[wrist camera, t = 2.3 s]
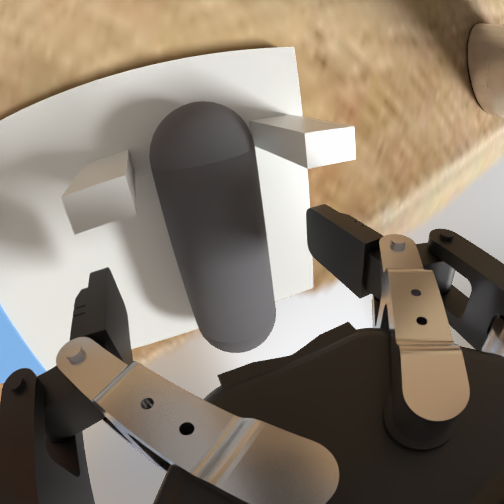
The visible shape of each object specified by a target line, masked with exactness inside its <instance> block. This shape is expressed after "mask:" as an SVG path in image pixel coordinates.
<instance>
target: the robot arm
mask: <svg viewBox="0 0 504 504" xmlns="http://www.w3.org/2000/svg"><path fill="white" fill-rule="evenodd" d="M468 65H469V73H470V78H471V83H472V87H473V90H474V93H475V96H476V98H477V101H478V102H479V104H480V106H481V107H482V108H483V110H484V111H485V112H487V113H489V114H492V115H496V116H499V117H503V118H504V25H501V24H487V23H479V24H476V25H475V26H474V27H473V28H472V31H471V33H470V37H469V42H468ZM306 227H307V245H308V249H309V251H310V253H311V255H312V256H313V257H314V258H315V259H316V260H317V261H318V262H320V263H321V264H322V265H323V266H324V267H325V268H326V269H327V270H329V271H330V272H331V273H332V274H333V275H334V276H335V277H336V278H338V279H339V280H340V281H341V282H342V283H343V284H344V285H345V286H346V287H348V288H349V289H350V290H351V291H352V292H353V293H354V294H355V295H356V296H358V297H359V298H362V297H365V296H367V295H369V294H373V299H372V316H373V328H364V329H357V330H356V329H355V328H354V327H353V326H352V325H351V324H350V323H349V322H347V323H345V324H343V325H341V326H338V327H336V328H334V329H332V330H330V331H328V332H325V333H323V334H321V335H319V336H318V337H316V338H315V339H314V340H312V341H311V342H310V343H308V344H307V345H306V346H304V347H303V348H301V349H300V350H299V351H297V352H296V353H294V354H293V355H290V356H286V357H281V358H275V359H270V360H265V361H258V362H253V363H250V364H248V365H245V366H242V367H239V368H237V369H234V370H231V371H228V372H225V373H222V374H220V375H218V378H219V381H220V383H221V386H220V387H218V388H216V389H215V390H214V391H212V392H211V393H210V394H209V395H207V396H206V397H205V398H204V399H201V398H199V397H197V396H195V395H193V394H192V393H190V392H188V391H186V390H184V389H182V388H181V387H179V386H177V385H175V384H174V383H172V382H170V381H168V380H166V379H165V378H163V377H161V376H160V375H158V374H156V373H155V372H153V371H151V370H150V369H148V368H147V367H145V366H143V365H142V364H140V363H138V362H136V361H133V359H132V351H131V343H130V333H129V323H128V314H127V310H126V307H125V304H124V301H123V299H122V296H121V294H120V292H119V289H118V287H117V285H116V282H115V280H114V277H113V275H112V273H111V270H110V269H109V267H107V268H103V269H100V270H97V271H94V272H91V273H90V275H89V283H88V287H87V288H84V289H81V291H80V292H79V294H78V295H77V297H76V298H75V303H74V310H73V318H72V324H71V333H70V341H69V342H67V343H66V344H65V345H64V346H63V347H62V348H61V349H60V350H59V352H58V354H57V357H56V366H55V367H53V368H52V369H50V370H48V371H46V372H45V373H43V374H41V375H39V376H38V377H37V376H36V374H35V373H34V372H33V371H32V370H31V369H29V368H21V369H18V370H16V371H14V372H13V373H12V374H11V375H10V376H9V377H8V378H7V379H6V381H5V383H4V385H3V388H2V395H1V402H0V504H95V502H94V498H93V493H92V489H91V484H90V479H89V474H88V468H87V462H86V456H85V450H84V442H83V435H82V431H83V430H84V429H86V428H88V427H90V426H91V425H93V424H95V423H97V422H98V421H100V420H102V421H103V422H104V423H106V424H107V425H108V426H109V427H110V428H111V429H113V430H114V431H115V432H116V433H117V434H118V435H119V436H121V437H122V438H123V439H124V440H125V441H127V442H128V443H129V444H130V445H132V446H133V447H134V448H135V449H137V450H138V451H139V452H140V453H141V454H143V455H144V456H145V457H146V458H147V459H149V460H150V461H151V462H152V463H154V464H155V465H156V466H158V467H159V468H160V469H162V470H163V471H165V472H166V475H165V478H164V480H163V482H162V484H161V487H160V489H159V491H158V494H157V496H156V498H155V500H154V503H153V504H504V264H503V263H501V262H500V261H498V260H497V259H495V258H494V257H492V256H491V255H489V254H488V253H486V252H485V251H483V250H482V249H480V248H479V247H477V246H476V245H474V244H473V243H471V242H469V241H468V240H466V239H465V238H463V237H462V236H460V235H458V234H457V233H455V232H453V231H450V230H446V229H435V230H432V231H431V232H430V235H429V241H428V243H422V244H415V243H414V241H413V240H412V239H410V238H408V237H406V236H403V235H397V234H391V235H386V236H382V235H381V234H379V233H378V232H376V231H374V230H373V229H371V228H370V227H368V226H366V225H364V224H363V223H361V222H360V221H358V220H356V219H355V218H353V217H351V216H350V215H346V214H343V213H339V212H338V211H336V210H334V209H332V208H331V207H329V206H327V205H325V204H323V205H319V206H316V207H312V208H309V209H307V211H306ZM455 270H456V271H457V272H459V273H460V274H462V275H463V276H464V277H465V278H467V279H468V280H469V281H470V283H471V286H472V292H471V295H470V298H468V297H467V296H465V295H464V294H463V293H462V292H460V291H459V290H458V289H457V288H455V287H454V286H453V285H452V281H453V277H454V273H455ZM449 325H450V326H451V327H452V328H453V329H455V330H456V331H457V332H458V333H459V334H460V335H461V336H462V337H463V338H464V339H465V340H466V341H467V342H468V343H470V345H472V346H473V347H474V348H475V349H476V350H474V349H470V348H465V347H461V346H459V345H457V344H455V343H454V342H453V338H452V334H451V330H450V327H449Z"/></svg>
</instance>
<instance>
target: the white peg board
mask: <svg viewBox="0 0 504 504" xmlns="http://www.w3.org/2000/svg"><path fill="white" fill-rule="evenodd" d="M201 101H206V102H215V103H218V104H221V105H224V106H226V107H228V108H230V109H232V110H233V111H235V112H236V113H237V114H238V115H239V116H240V117H241V118H242V119H243V120H244V122H245V123H246V124H247V126H248V128H249V130H250V132H251V134H252V137H253V141H254V145H255V152H256V159H257V166H258V174H259V181H260V189H261V196H262V204H263V211H264V219H265V227H266V234H267V242H268V250H269V258H270V266H271V274H272V283H273V291H274V299H275V302H276V301H279V300H282V299H284V298H287V297H290V296H292V295H295V294H298V293H300V292H303V291H306V290H308V289H311V288H313V262H312V255H311V253H310V251H309V249H308V245H307V227H306V211H307V209H309V208H310V200H309V185H308V171H307V169H310V168H314V167H319V166H324V165H329V164H334V163H339V162H344V161H349V160H354V159H356V154H355V130H354V126H350V125H345V124H340V123H335V122H330V121H325V120H319V119H313V118H308V117H303V115H302V106H301V97H300V88H299V80H298V72H297V64H296V57H295V49H294V47H276V48H260V49H247V50H237V51H228V52H220V53H213V54H206V55H199V56H193V57H187V58H182V59H177V60H172V61H167V62H162V63H157V64H153V65H149V66H145V67H141V68H137V69H133V70H129V71H125V72H122V73H118V74H115V75H111V76H108V77H105V78H102V79H98V80H95V81H92V82H89V83H86V84H83V85H81V86H78V87H75V88H72V89H70V90H67V91H64V92H62V93H59V94H57V95H54V96H52V97H49V98H47V99H44V100H42V101H40V102H37V103H35V104H33V105H31V106H28V107H26V108H24V109H22V110H20V111H18V112H16V113H14V114H12V115H10V116H8V117H6V118H4V119H2V120H0V383H5V381H6V379H7V378H8V377H9V376H10V375H11V374H12V373H13V372H14V371H16V370H18V369H21V368H29V369H31V370H32V371H33V372H34V373H35V374H36V375H40V374H43V373H45V372H46V371H48V370H50V369H52V368H53V367H55V366H56V357H57V354H58V352H59V350H60V349H61V348H62V347H63V346H64V345H65V344H66V343H67V342H69V341H70V333H71V324H72V318H73V310H74V303H75V298H76V297H77V295H78V294H79V292H80V291H81V289H84V288H87V287H88V283H89V275H90V273H91V272H94V271H97V270H100V269H103V268H107V267H109V269H110V270H111V273H112V275H113V277H114V280H115V282H116V285H117V287H118V289H119V292H120V294H121V296H122V299H123V301H124V304H125V307H126V310H127V314H128V323H129V333H130V343H131V349H134V348H137V347H140V346H144V345H147V344H150V343H154V342H157V341H160V340H163V339H167V338H170V337H173V336H176V335H179V334H183V333H186V332H189V331H192V330H195V329H198V326H197V323H196V320H195V317H194V314H193V311H192V308H191V305H190V302H189V299H188V296H187V293H186V290H185V287H184V284H183V280H182V277H181V274H180V271H179V268H178V264H177V261H176V258H175V254H174V251H173V248H172V244H171V241H170V237H169V234H168V231H167V227H166V223H165V220H164V216H163V213H162V209H161V205H160V201H159V198H158V194H157V190H156V186H155V182H154V178H153V174H152V170H151V166H150V159H149V153H150V144H151V141H152V137H153V134H154V132H155V130H156V129H157V127H158V125H159V124H160V123H161V121H162V120H163V119H164V118H165V117H166V116H167V115H168V114H169V113H171V112H172V111H173V110H175V109H177V108H179V107H181V106H182V105H186V104H189V103H192V102H201Z"/></svg>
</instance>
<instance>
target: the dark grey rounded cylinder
mask: <svg viewBox="0 0 504 504" xmlns="http://www.w3.org/2000/svg"><path fill="white" fill-rule="evenodd" d="M149 159H150V166H151V170H152V174H153V178H154V182H155V186H156V190H157V194H158V198H159V201H160V205H161V209H162V213H163V216H164V220H165V223H166V227H167V231H168V234H169V237H170V241H171V244H172V248H173V251H174V254H175V258H176V261H177V264H178V268H179V271H180V274H181V277H182V280H183V284H184V287H185V290H186V293H187V296H188V299H189V302H190V305H191V308H192V311H193V314H194V317H195V320H196V323H197V326H198V328H199V330H200V332H201V333H202V335H203V337H204V338H205V339H206V340H207V341H208V342H209V343H210V344H211V345H213V346H215V347H216V348H218V349H220V350H222V351H226V352H231V353H240V352H245V351H249V350H251V349H254V348H256V347H257V346H259V345H260V344H262V343H263V342H264V341H265V340H266V339H267V337H268V336H269V334H270V332H271V331H272V329H273V326H274V323H275V317H276V308H275V299H274V291H273V283H272V274H271V266H270V258H269V250H268V242H267V234H266V227H265V219H264V211H263V204H262V196H261V189H260V181H259V174H258V166H257V159H256V152H255V145H254V141H253V137H252V134H251V132H250V130H249V128H248V126H247V124H246V123H245V122H244V120H243V119H242V118H241V117H240V116H239V115H238V114H237V113H236V112H235V111H233V110H232V109H230V108H228V107H226V106H224V105H221V104H218V103H215V102H206V101H201V102H192V103H189V104H186V105H182V106H181V107H179V108H177V109H175V110H173V111H172V112H171V113H169V114H168V115H167V116H166V117H165V118H164V119H163V120H162V121H161V123H160V124H159V125H158V127H157V129H156V130H155V132H154V134H153V137H152V141H151V144H150V153H149Z"/></svg>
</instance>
